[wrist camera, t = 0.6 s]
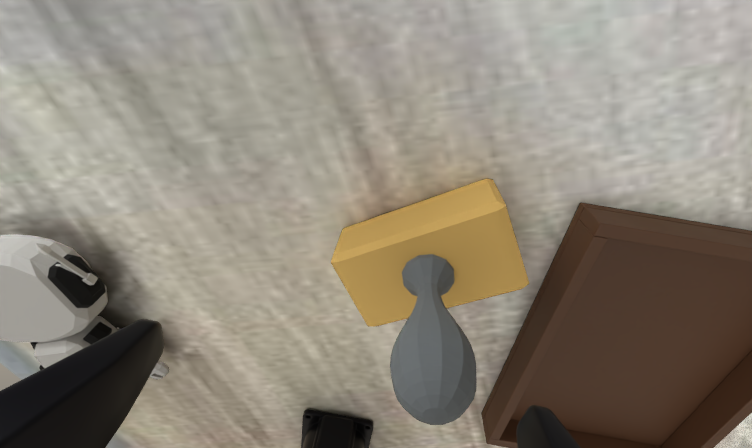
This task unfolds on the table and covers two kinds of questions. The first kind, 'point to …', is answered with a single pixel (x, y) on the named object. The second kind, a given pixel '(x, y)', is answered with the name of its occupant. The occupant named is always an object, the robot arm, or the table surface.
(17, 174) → the table surface
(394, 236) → the rubber stamp
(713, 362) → the tray
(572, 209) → the table surface
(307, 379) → the table surface
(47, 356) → the robot toy
